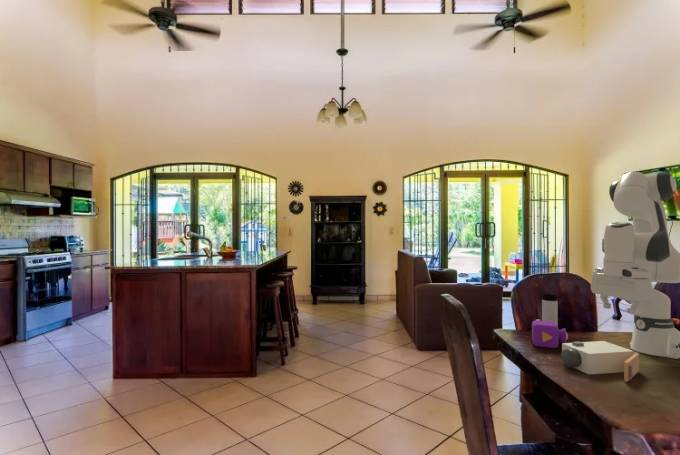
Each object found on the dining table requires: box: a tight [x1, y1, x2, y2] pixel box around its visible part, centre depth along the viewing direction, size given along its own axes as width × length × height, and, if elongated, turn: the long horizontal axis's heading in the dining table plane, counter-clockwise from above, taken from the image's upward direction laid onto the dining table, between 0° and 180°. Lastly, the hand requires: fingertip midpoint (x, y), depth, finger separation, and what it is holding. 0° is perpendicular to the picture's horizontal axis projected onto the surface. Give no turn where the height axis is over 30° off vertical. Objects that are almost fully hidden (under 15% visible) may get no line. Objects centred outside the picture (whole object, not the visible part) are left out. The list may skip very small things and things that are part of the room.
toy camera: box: [531, 319, 569, 349], centre depth 162 cm, size 11×14×10 cm
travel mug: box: [541, 292, 559, 326], centre depth 176 cm, size 6×7×20 cm
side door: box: [623, 351, 640, 382], centre depth 128 cm, size 16×2×6 cm, turn 130°
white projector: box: [560, 340, 635, 375], centre depth 137 cm, size 21×12×8 cm, turn 100°
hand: (618, 311), depth 130 cm, fingers open, 8 cm apart
